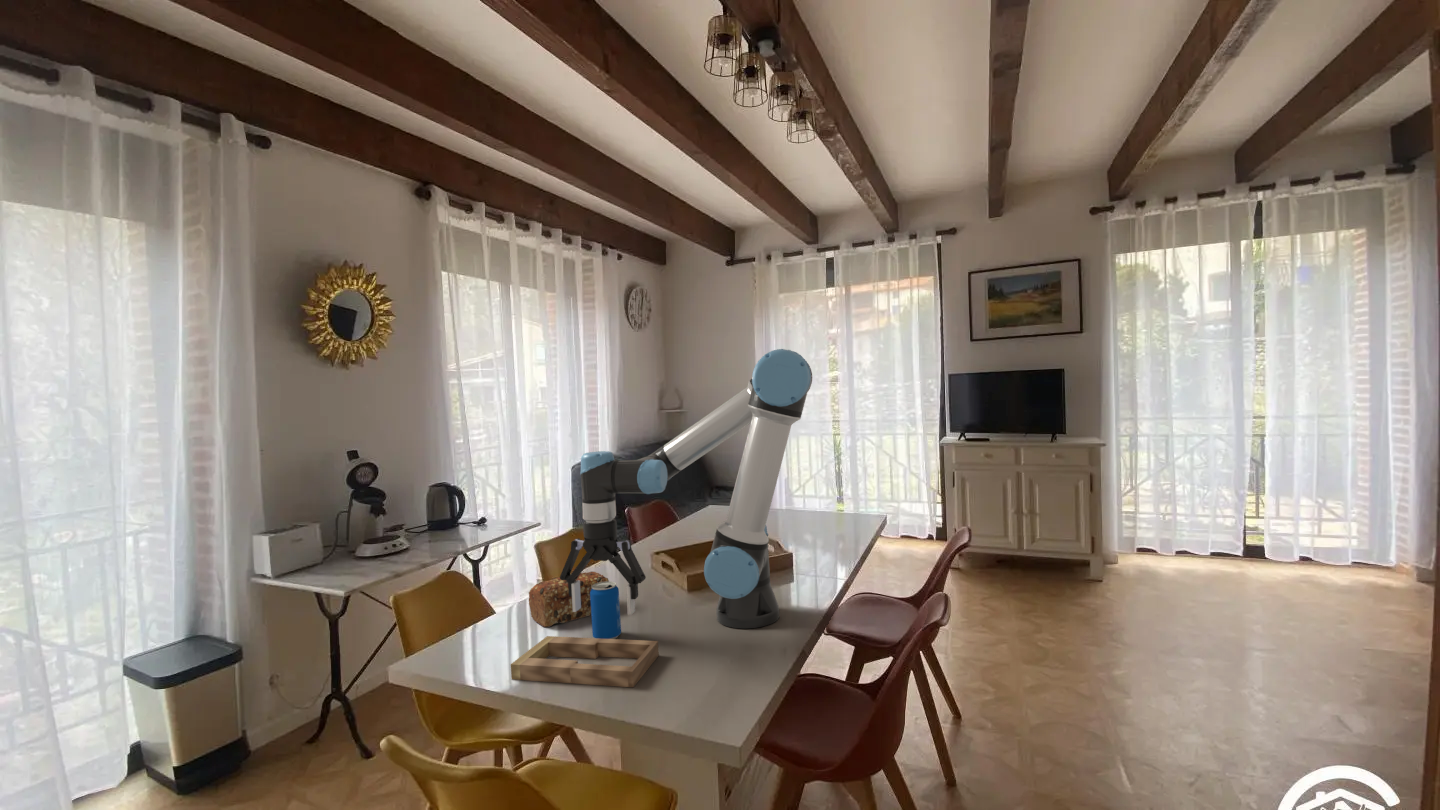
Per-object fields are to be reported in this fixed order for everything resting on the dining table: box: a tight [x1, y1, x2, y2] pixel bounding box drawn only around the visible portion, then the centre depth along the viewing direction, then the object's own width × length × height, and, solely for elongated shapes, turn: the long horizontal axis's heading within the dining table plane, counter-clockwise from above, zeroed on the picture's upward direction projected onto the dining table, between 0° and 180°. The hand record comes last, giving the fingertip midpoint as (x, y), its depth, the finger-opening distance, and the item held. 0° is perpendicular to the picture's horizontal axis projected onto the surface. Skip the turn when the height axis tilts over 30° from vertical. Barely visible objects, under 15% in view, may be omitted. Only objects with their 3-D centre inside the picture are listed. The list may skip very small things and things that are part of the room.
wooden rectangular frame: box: [510, 635, 660, 688], centre depth 124 cm, size 26×14×3 cm, turn 76°
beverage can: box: [590, 580, 622, 639], centre depth 139 cm, size 6×6×12 cm
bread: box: [528, 571, 610, 628], centre depth 156 cm, size 19×11×10 cm, turn 128°
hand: (603, 611), depth 139 cm, fingers open, 13 cm apart
